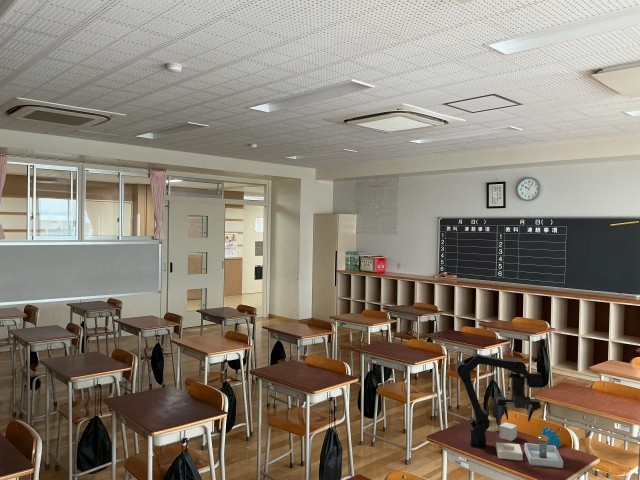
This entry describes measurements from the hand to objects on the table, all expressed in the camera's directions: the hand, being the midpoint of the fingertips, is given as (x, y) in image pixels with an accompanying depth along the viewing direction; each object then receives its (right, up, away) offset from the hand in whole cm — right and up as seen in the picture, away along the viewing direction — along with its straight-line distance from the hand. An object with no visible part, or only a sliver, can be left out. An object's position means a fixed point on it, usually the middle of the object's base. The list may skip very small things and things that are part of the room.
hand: (517, 420), depth 242 cm
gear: (+17, -12, +2) cm, 21 cm away
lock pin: (+6, -12, -13) cm, 18 cm away
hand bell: (-5, -12, +22) cm, 26 cm away
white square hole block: (-7, -12, -8) cm, 16 cm away
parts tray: (+6, -12, -12) cm, 19 cm away
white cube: (-1, -12, +11) cm, 16 cm away
